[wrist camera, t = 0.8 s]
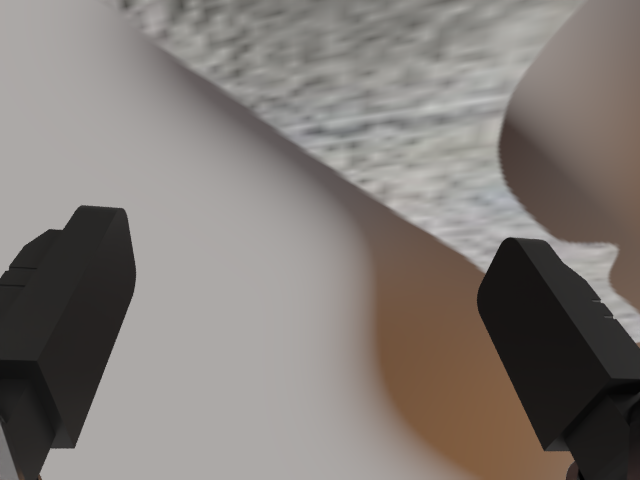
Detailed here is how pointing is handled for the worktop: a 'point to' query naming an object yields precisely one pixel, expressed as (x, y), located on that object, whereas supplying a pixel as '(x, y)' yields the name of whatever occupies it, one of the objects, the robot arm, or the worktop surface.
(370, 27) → the worktop surface
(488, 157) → the worktop surface
